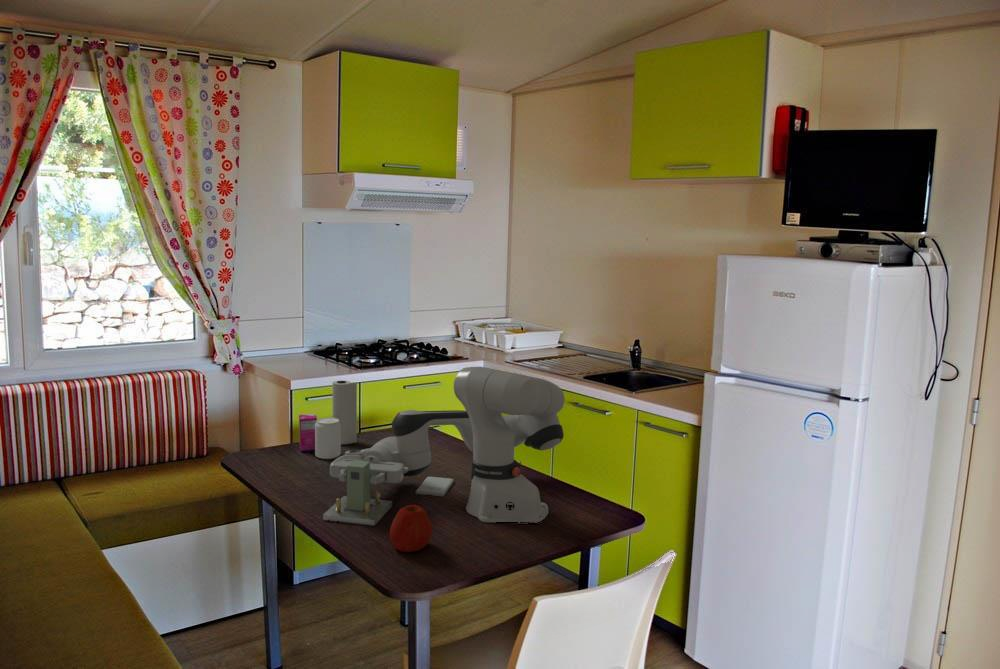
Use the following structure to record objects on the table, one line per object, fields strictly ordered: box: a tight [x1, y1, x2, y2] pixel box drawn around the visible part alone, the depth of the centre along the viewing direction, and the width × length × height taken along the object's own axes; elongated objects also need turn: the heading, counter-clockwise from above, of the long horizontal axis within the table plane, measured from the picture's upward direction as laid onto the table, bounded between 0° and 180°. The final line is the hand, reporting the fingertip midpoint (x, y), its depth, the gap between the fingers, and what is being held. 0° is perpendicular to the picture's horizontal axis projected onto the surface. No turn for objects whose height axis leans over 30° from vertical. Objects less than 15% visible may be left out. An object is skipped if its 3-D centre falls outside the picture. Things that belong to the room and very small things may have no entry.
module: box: [346, 460, 371, 511], centre depth 216 cm, size 4×5×12 cm
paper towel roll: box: [331, 380, 358, 445], centre depth 277 cm, size 7×6×21 cm
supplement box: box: [298, 413, 318, 453], centre depth 270 cm, size 6×6×12 cm
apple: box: [389, 504, 433, 553], centre depth 197 cm, size 10×10×10 cm
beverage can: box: [314, 417, 342, 460], centre depth 263 cm, size 8×8×12 cm
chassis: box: [322, 490, 393, 526], centre depth 217 cm, size 14×14×5 cm
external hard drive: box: [415, 476, 455, 497], centre depth 239 cm, size 2×8×12 cm
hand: (357, 480), depth 215 cm, fingers open, 7 cm apart
